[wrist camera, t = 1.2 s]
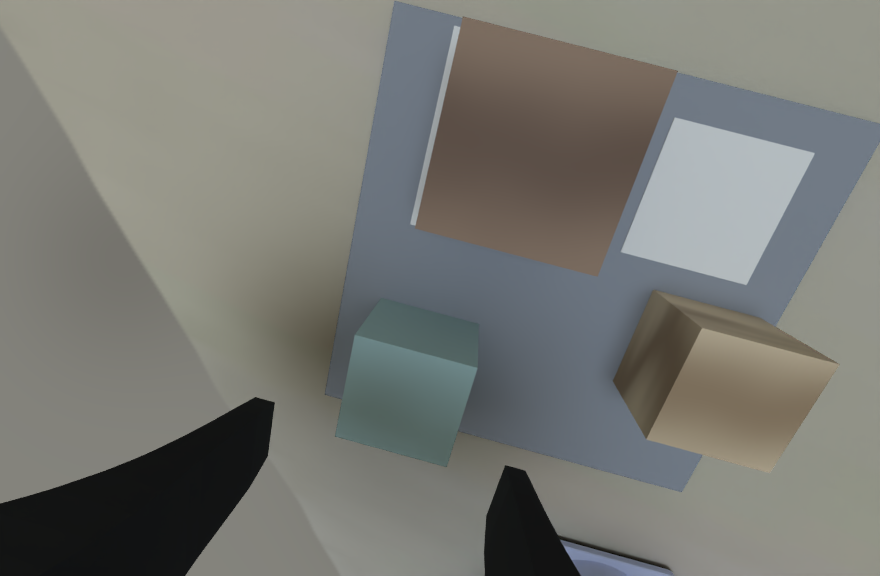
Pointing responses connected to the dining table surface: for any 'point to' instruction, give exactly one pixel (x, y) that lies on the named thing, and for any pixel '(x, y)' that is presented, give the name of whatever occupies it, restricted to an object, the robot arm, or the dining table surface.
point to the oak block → (718, 381)
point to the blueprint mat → (625, 265)
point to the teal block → (409, 381)
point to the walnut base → (539, 145)
